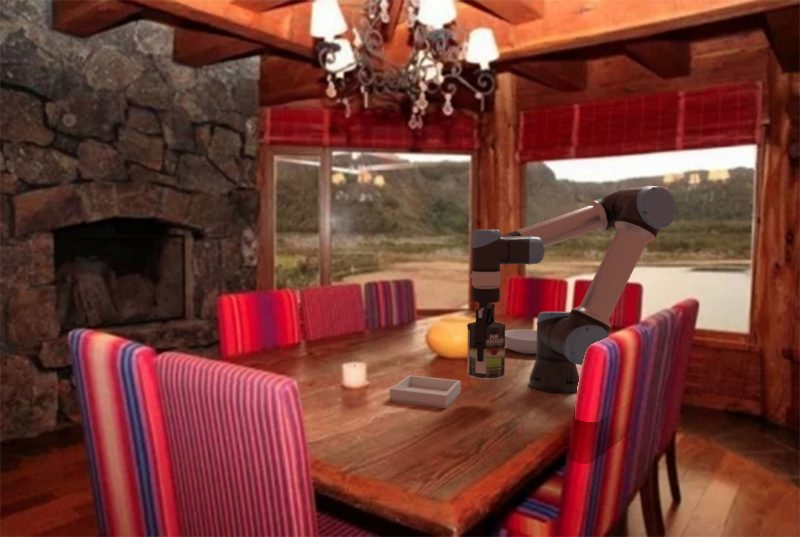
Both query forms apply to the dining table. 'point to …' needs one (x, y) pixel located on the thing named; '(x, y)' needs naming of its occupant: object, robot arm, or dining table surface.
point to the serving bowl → (521, 341)
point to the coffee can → (488, 352)
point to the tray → (425, 391)
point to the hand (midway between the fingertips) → (484, 368)
